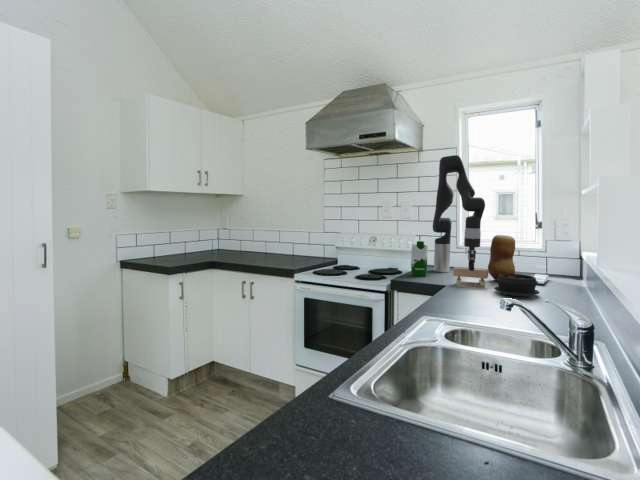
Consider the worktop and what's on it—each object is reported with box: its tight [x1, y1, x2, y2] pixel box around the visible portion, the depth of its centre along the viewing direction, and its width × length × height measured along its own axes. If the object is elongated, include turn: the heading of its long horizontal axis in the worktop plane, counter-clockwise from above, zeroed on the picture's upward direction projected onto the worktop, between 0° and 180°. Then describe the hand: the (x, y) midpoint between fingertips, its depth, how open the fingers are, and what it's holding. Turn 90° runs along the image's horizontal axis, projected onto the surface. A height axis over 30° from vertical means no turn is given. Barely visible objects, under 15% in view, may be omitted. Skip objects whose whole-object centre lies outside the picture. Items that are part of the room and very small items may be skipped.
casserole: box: [494, 273, 540, 298], centre depth 180 cm, size 25×19×8 cm
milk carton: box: [410, 240, 428, 278], centre depth 228 cm, size 9×9×20 cm
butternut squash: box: [487, 234, 516, 283], centre depth 213 cm, size 14×13×25 cm
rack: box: [456, 276, 486, 289], centre depth 201 cm, size 10×13×4 cm
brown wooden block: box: [452, 266, 489, 280], centre depth 200 cm, size 4×16×4 cm, turn 61°
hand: (471, 269), depth 200 cm, fingers open, 8 cm apart
